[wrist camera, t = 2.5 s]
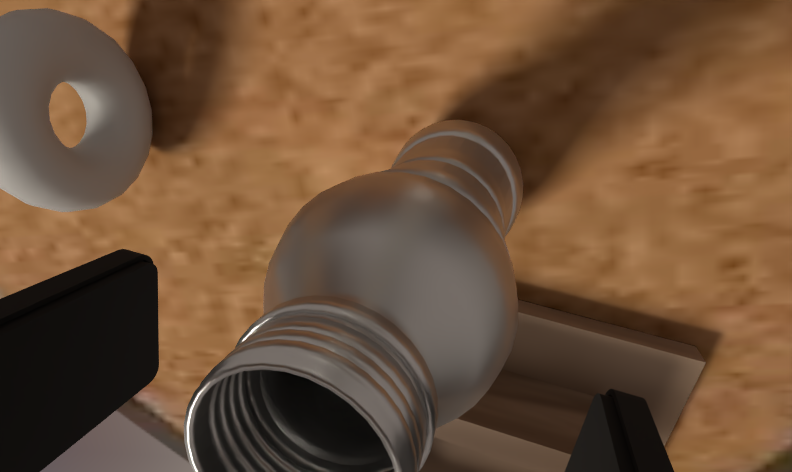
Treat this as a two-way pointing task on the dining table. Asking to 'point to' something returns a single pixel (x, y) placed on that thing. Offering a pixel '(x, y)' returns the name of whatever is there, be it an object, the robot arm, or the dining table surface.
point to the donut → (103, 100)
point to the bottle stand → (562, 392)
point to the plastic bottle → (373, 317)
